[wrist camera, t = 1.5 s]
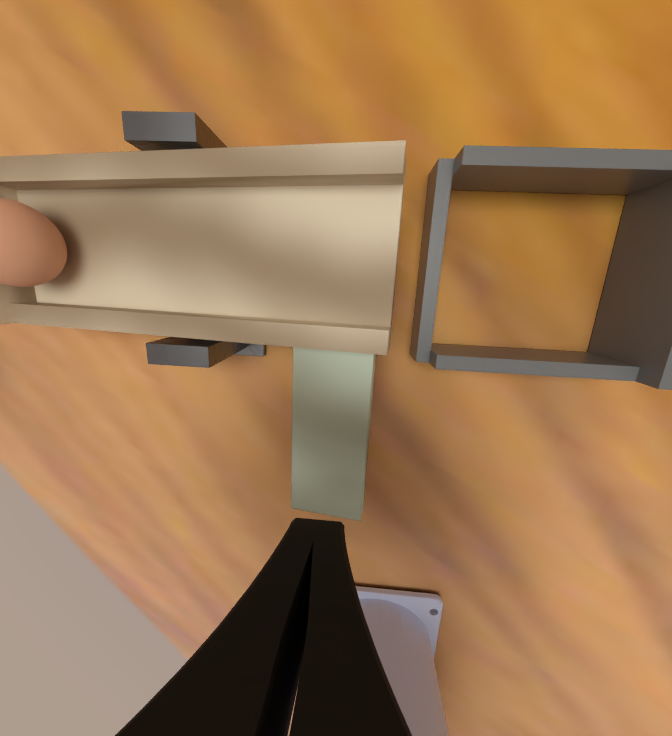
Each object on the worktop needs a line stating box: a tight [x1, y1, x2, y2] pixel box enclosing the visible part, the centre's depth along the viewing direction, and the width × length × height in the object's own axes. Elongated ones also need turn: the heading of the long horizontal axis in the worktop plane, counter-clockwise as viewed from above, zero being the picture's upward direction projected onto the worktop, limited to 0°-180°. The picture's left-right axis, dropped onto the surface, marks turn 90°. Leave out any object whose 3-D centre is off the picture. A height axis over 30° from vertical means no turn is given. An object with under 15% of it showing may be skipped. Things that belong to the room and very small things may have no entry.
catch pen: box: [410, 146, 672, 390], centre depth 13 cm, size 8×9×4 cm
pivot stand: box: [122, 111, 266, 368], centre depth 13 cm, size 9×4×5 cm, turn 177°
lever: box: [0, 140, 406, 521], centre depth 13 cm, size 13×16×2 cm
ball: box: [0, 198, 67, 287], centre depth 12 cm, size 3×3×3 cm
